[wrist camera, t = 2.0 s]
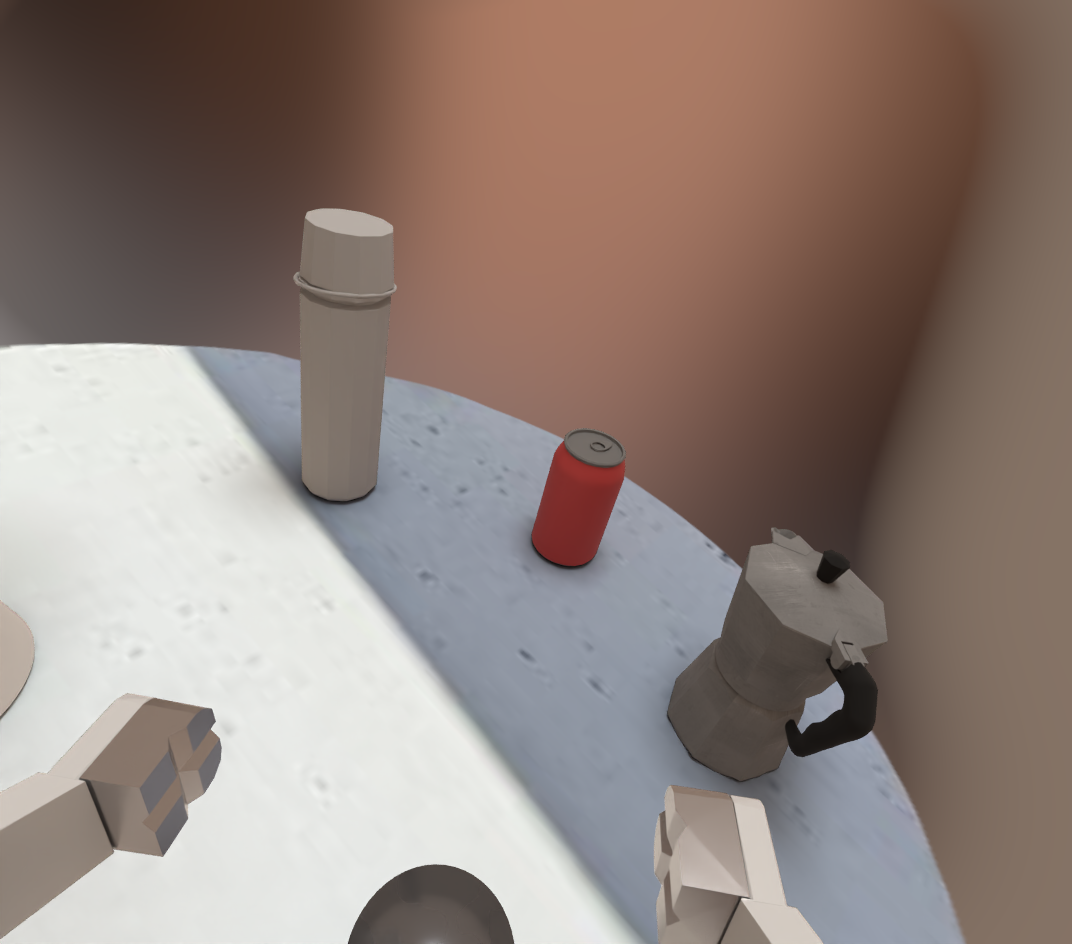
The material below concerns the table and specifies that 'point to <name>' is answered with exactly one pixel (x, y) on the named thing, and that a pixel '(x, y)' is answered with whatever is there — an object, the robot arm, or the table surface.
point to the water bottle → (343, 348)
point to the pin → (433, 910)
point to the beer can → (579, 496)
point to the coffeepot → (781, 662)
